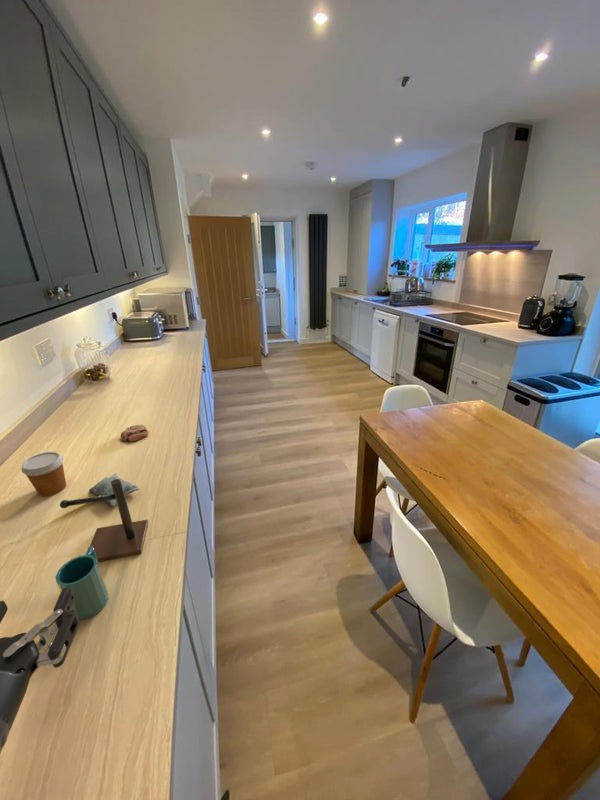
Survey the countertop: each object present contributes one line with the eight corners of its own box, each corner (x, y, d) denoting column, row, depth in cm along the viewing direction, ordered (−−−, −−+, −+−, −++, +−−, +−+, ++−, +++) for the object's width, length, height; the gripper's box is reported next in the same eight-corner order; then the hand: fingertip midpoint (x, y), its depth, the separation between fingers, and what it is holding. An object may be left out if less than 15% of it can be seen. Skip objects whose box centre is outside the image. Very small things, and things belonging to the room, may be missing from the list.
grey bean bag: (118, 480, 102) (114, 467, 99) (141, 493, 96) (138, 480, 94) (89, 496, 95) (85, 483, 93) (113, 512, 89) (108, 498, 87)
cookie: (149, 427, 133) (147, 420, 132) (148, 439, 124) (147, 432, 123) (122, 431, 130) (120, 425, 128) (119, 444, 121) (118, 437, 119)
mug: (103, 615, 64) (90, 580, 60) (65, 624, 62) (49, 589, 58) (116, 569, 73) (106, 536, 69) (84, 575, 71) (71, 542, 67)
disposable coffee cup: (79, 491, 97) (67, 457, 92) (42, 509, 90) (27, 474, 85) (65, 479, 102) (53, 447, 97) (29, 496, 95) (14, 462, 90)
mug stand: (148, 522, 86) (134, 466, 78) (141, 553, 77) (125, 493, 69) (84, 534, 82) (63, 476, 75) (69, 567, 73) (44, 506, 66)
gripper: (30, 699, 35) (82, 569, 49) (-141, 746, 31) (-31, 592, 46) (52, 733, 38) (95, 602, 52) (-102, 779, 34) (-11, 625, 49)
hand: (36, 597), depth 49 cm, fingers open, 8 cm apart
